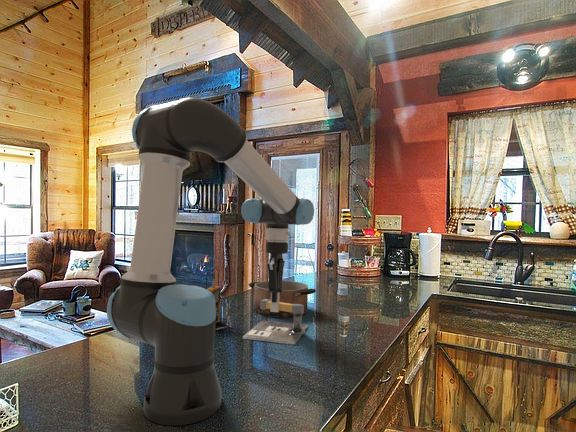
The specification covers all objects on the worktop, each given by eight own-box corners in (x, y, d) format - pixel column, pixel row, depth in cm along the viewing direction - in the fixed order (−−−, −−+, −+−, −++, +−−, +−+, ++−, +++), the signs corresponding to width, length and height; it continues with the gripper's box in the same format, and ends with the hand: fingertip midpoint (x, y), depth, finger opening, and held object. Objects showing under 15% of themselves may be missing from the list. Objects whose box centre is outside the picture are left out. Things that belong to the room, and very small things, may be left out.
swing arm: (305, 312, 120) (305, 304, 120) (300, 315, 117) (301, 306, 117) (265, 306, 127) (265, 298, 127) (259, 308, 124) (259, 300, 124)
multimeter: (227, 332, 120) (229, 272, 120) (199, 329, 122) (201, 270, 122) (241, 320, 134) (243, 267, 135) (216, 318, 136) (218, 265, 137)
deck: (298, 345, 110) (299, 322, 110) (242, 338, 114) (243, 316, 114) (310, 327, 128) (310, 307, 128) (261, 322, 132) (262, 303, 132)
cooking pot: (235, 311, 148) (236, 285, 149) (264, 301, 168) (265, 277, 168) (301, 322, 134) (301, 294, 134) (323, 310, 154) (324, 285, 154)
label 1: (267, 338, 113) (267, 336, 113) (246, 335, 115) (247, 334, 115) (272, 333, 118) (272, 331, 118) (252, 331, 120) (252, 329, 120)
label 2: (285, 333, 118) (285, 332, 118) (264, 331, 120) (264, 329, 120) (288, 329, 123) (288, 327, 123) (269, 327, 124) (269, 325, 124)
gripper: (282, 242, 114) (280, 317, 114) (292, 241, 127) (290, 308, 126) (260, 241, 116) (257, 314, 116) (272, 240, 129) (269, 306, 128)
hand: (274, 311), depth 121 cm, fingers closed
